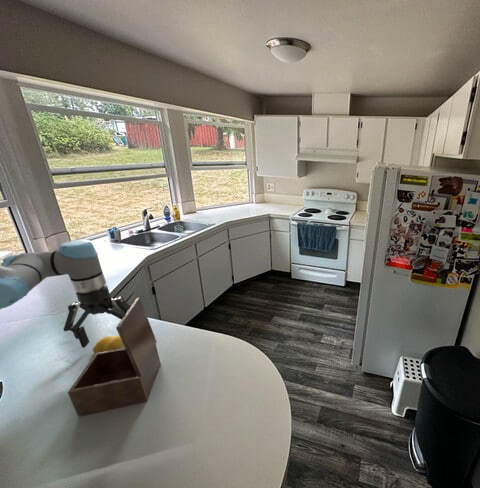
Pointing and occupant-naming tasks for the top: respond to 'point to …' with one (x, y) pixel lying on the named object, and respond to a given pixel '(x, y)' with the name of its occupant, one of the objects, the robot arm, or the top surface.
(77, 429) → the top surface
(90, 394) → the bin
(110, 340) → the bread roll
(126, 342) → the bin lid
